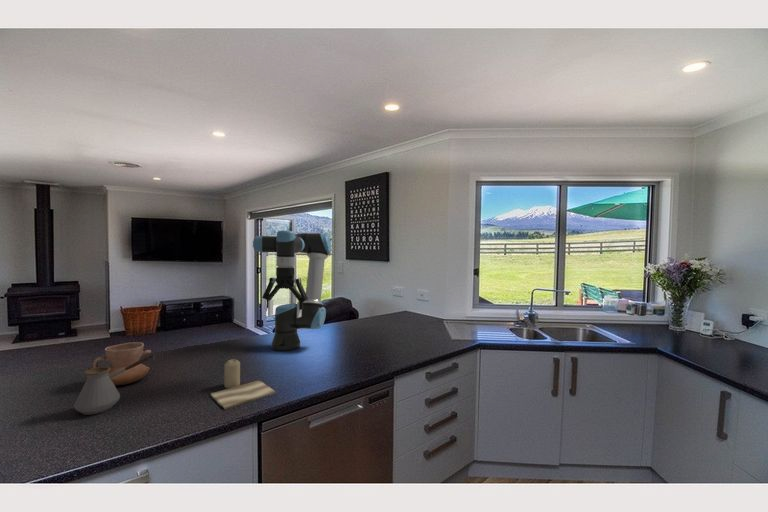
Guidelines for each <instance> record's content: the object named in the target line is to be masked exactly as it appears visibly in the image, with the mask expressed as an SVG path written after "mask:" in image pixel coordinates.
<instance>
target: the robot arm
mask: <svg viewBox="0 0 768 512" xmlns="http://www.w3.org/2000/svg"><path fill="white" fill-rule="evenodd" d="M252 247H253V250H254V251H255V252H256V253H276V255H275V256H276V262H275V264H276V268H275V277H269V280H268V284H267V286H266V288H265V290H264V291H263V295H262V299H264V300H266V308H267V316H269V317H270V316H273V315H274V335H273V338H272V341H271V347H270V348H271V349H272V350H274V351H279V352H281V351H284V352H286V351H293V350H296V349H298V348H300V347H301V340H300V337H299V334H298V329H301V330H302V329H306V330H319V329H321V328H322V327H323V325H324V323H325V320H326V314H327V309H326V308H325V307H324V304H323V302H322V290H323V279H324V271H325V262H326V261H325V260H326V259H328V257H329V255H330V254H331V253H332V248H333V247H332V241H331V237H330V235H329V234H328V233H321V232H320V233H319V232H318V233H317V232H315V233H312V232H311V233H310V232H308V233H307V232H302V233H296V232H295V231H293V230H278V231H277V232H276V235H274V236H272V235H268V236H267V235H257V236H255V237H254V238H253V241H252ZM298 253H299V254H306V256H307V257H308V259H309V260H308V266H307V267H308V269H307V277H306V278H307V279H306V287H305V289H304V286H303V284H302V278H299V277H298V278H295V263H296V262H295V259H296V257H295V256H296V254H298ZM275 283H276V285H274V284H275ZM295 285H296V286H295ZM280 289H284V290H285V289H286V290H288V289H289V291H290V292H292V294H293V295H294V297H295V298H296V299H297V302H296V303H293V302H291V303H285V304H281V305H278V306H276V307H275V310H274V299H273V297H275V295H276V294H277V293H278V291H280ZM274 311H275V313H274Z"/></svg>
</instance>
